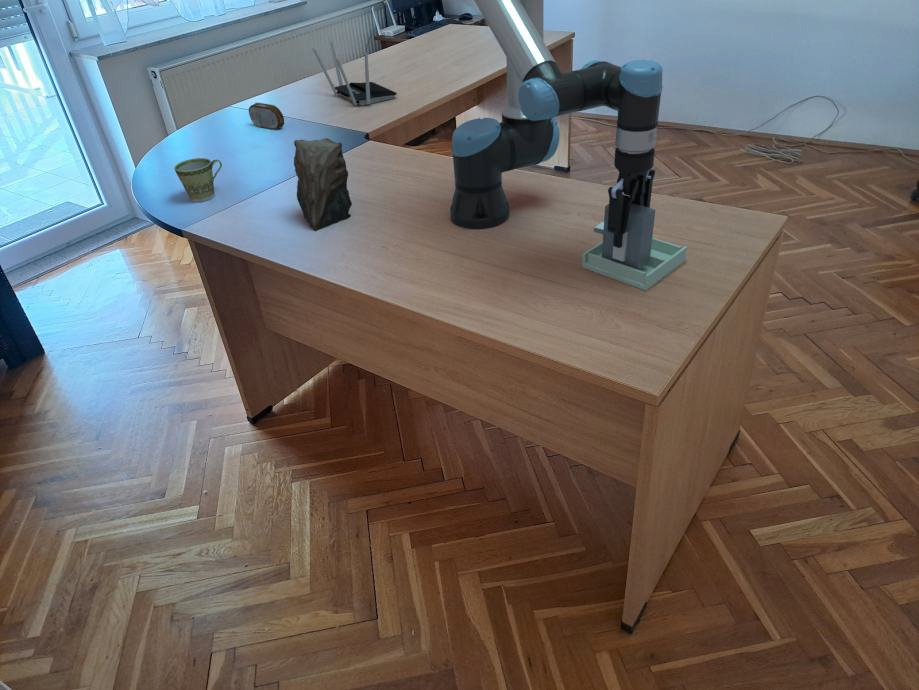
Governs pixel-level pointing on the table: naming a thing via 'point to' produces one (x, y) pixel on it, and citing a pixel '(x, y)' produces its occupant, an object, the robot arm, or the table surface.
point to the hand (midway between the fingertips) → (625, 254)
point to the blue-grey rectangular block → (632, 237)
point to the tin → (266, 116)
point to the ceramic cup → (197, 178)
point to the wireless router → (357, 84)
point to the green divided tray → (659, 266)
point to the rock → (321, 182)
